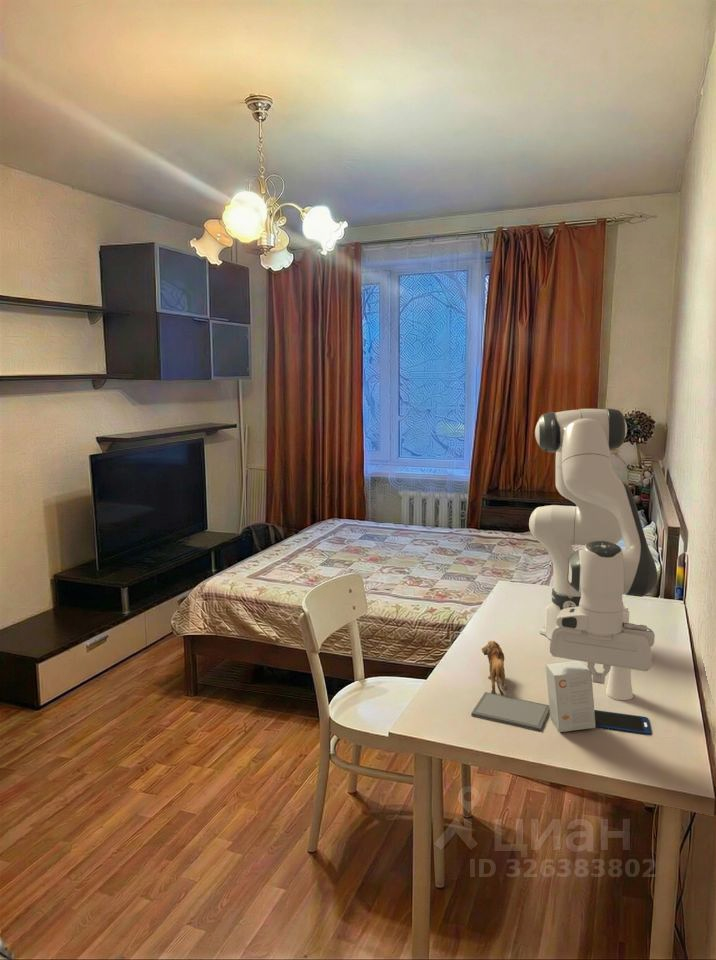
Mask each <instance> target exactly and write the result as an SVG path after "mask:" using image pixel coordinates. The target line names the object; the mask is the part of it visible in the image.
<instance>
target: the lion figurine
mask: <svg viewBox="0 0 716 960" xmlns="http://www.w3.org/2000/svg"><path fill="white" fill-rule="evenodd" d="M481 653H483V655H484V656H487V659H488V663H489V676H488V680H490V681H491V690H490V693H492V694H496V693H497V691H496V686H497V689H498V692H499V695H502V696H505V694H504V692H503V690H507V689H508V687H507V686H506V684H505V680H506V679H505V678H506V674H505V666H504V665H505V654H504V652H503V650H502V648H501V647H500V644H499V643H498V642H497V641H495V640H488V642H487V644H486V645H484V646H483V647H482V648H481ZM500 680H501V686H500Z"/></svg>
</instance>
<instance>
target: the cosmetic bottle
mask: <svg viewBox="0 0 716 960" xmlns="http://www.w3.org/2000/svg"><path fill="white" fill-rule="evenodd" d="M623 622H624V623H630V610H629V607H628V606H627V605H624V617H623ZM623 628H624V627H623ZM631 672H632V669H628V668H622V667H615V666H611V668H610V671H609V672H608V674H609V675H608V680H607V686H606V689H605V693H606V695H607V696H608V697H610V698H611V699H615V700H618V701H629V700H631V699H632V698H633V696H634V692H633V684H632V673H631Z"/></svg>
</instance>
